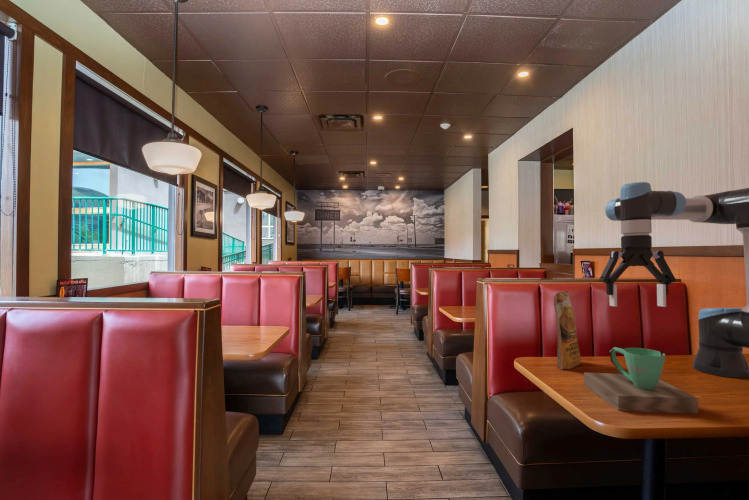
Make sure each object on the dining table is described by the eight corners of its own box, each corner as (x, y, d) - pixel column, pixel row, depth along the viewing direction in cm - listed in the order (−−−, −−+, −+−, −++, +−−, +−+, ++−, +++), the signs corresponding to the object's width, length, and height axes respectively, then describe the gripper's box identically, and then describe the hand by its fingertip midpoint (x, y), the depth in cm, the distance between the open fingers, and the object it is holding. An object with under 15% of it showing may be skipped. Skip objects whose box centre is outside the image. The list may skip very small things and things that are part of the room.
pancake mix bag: (547, 367, 139) (547, 292, 140) (567, 358, 152) (567, 289, 152) (566, 372, 134) (565, 294, 135) (585, 362, 147) (585, 290, 147)
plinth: (649, 387, 119) (649, 374, 119) (698, 413, 99) (698, 398, 99) (584, 385, 120) (583, 372, 121) (618, 410, 101) (618, 395, 101)
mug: (673, 389, 105) (672, 354, 105) (652, 395, 101) (652, 358, 101) (620, 374, 119) (620, 343, 119) (600, 378, 114) (600, 346, 115)
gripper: (671, 235, 114) (673, 304, 114) (586, 236, 116) (587, 304, 116) (690, 233, 106) (691, 308, 106) (598, 234, 109) (599, 307, 108)
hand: (637, 306), depth 111 cm, fingers open, 13 cm apart
